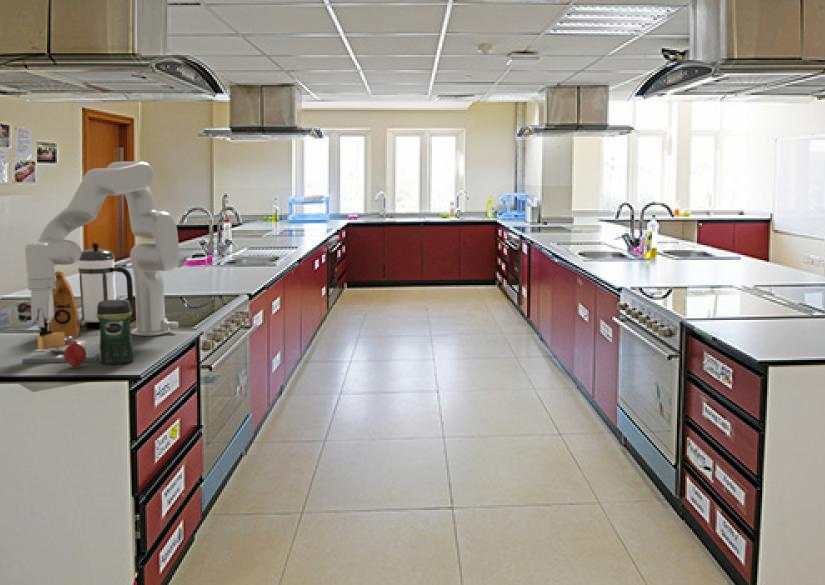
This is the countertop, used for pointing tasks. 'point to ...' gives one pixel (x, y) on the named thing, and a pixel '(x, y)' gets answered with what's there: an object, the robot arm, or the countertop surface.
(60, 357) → the board
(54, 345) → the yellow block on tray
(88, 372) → the countertop surface
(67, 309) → the coffee package
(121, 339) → the coffee jar
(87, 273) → the coffee press
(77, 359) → the pomegranate
